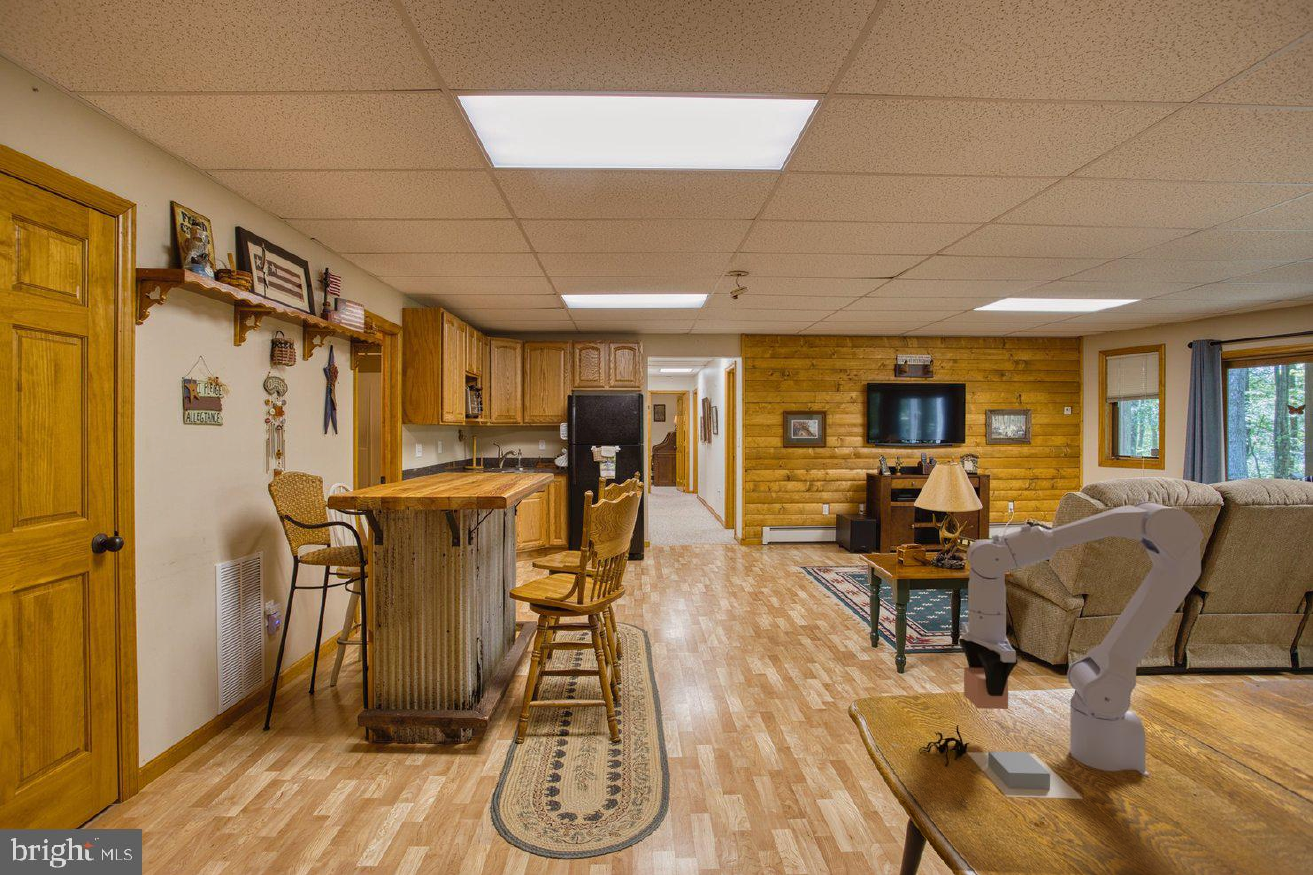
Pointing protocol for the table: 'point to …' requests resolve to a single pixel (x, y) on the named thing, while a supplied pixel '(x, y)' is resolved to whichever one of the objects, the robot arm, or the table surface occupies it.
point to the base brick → (1018, 770)
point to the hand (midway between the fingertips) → (986, 687)
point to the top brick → (982, 690)
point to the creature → (945, 745)
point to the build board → (1056, 789)
